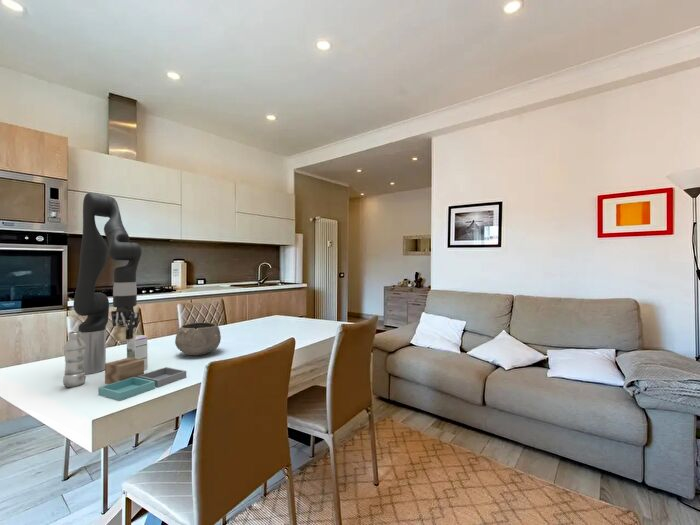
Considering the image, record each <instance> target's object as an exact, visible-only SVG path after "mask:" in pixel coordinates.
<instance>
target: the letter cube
mask: <svg viewBox="0 0 700 525" xmlns="http://www.w3.org/2000/svg"><path fill="white" fill-rule="evenodd" d="M136 328H137V327H136ZM136 328H134V329H133V338H132V339H136V335H137V334H136V331H137V330H136ZM113 340H114V341H118V342H124V341H126V342H127V339H126V326H125V324H124V325H122V326H116V327H115V326H113ZM129 340H131V339H129Z"/></svg>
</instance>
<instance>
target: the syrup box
mask: <svg viewBox="0 0 700 525" xmlns="http://www.w3.org/2000/svg"><path fill="white" fill-rule="evenodd" d="M148 356H149V355H148V336H147V335H144V334H143V335H142V334H136V339H131V340H126V358H129V357H130V358H135V359H141V360H144V369H145V370H148V369H147V368H148V366H149V365H148V361H149V360H148Z"/></svg>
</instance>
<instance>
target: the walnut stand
mask: <svg viewBox="0 0 700 525" xmlns="http://www.w3.org/2000/svg"><path fill="white" fill-rule="evenodd" d="M142 374H145V370H144V360H141V359H135V358H130V357H129V358H127V357H126V358H122V359H119V360H114V361H109V362H106V363H105V370H104V384H105V385H109V384H112V383H115V382H119V381H122V380H125V379H128V378H132V377H137V376H138V375H142Z"/></svg>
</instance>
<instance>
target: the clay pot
mask: <svg viewBox="0 0 700 525" xmlns="http://www.w3.org/2000/svg"><path fill="white" fill-rule="evenodd" d="M221 337H222V336H221V331H220V327H219V326H218V325H217V323H215V322H214V323H213V322H191V323H187V324H183V325H180V327H179V329H178V331H177V332H176V335H175V340H174V342H175V343H174V344H175V346H176V348H177V349H178V350H179V351H180V352H182V353H183V354H187V355H190V356H202V355H206V354H209V353H211V352H213V351H214V350H216V349H217V348H218V347H219V346H220V343H221V340H222V338H221Z"/></svg>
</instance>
